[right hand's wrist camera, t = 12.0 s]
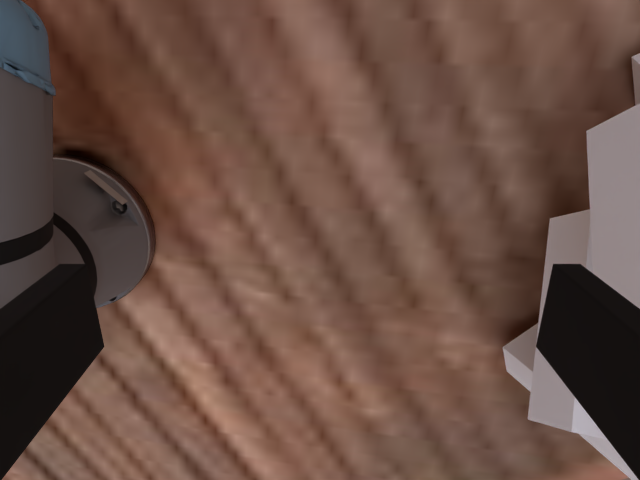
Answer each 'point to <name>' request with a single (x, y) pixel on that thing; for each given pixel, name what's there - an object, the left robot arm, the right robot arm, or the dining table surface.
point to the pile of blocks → (590, 265)
